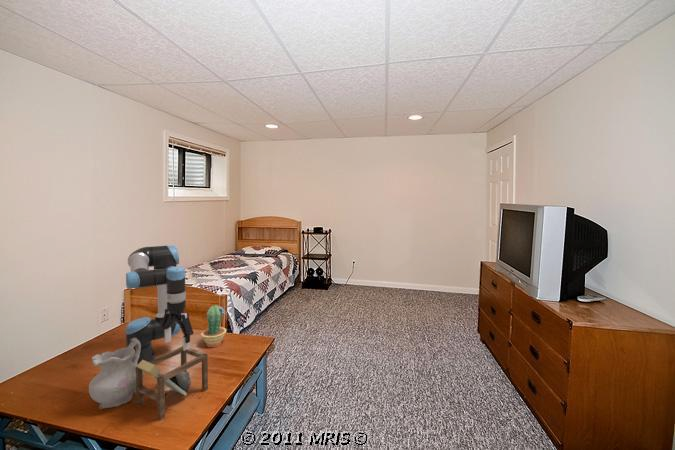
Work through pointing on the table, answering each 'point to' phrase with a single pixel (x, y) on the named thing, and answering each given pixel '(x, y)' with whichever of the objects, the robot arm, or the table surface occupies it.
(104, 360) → the ceramic pitcher
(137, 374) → the stand
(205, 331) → the potted cactus
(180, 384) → the rock
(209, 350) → the table surface
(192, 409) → the table surface
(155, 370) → the trapdoor
